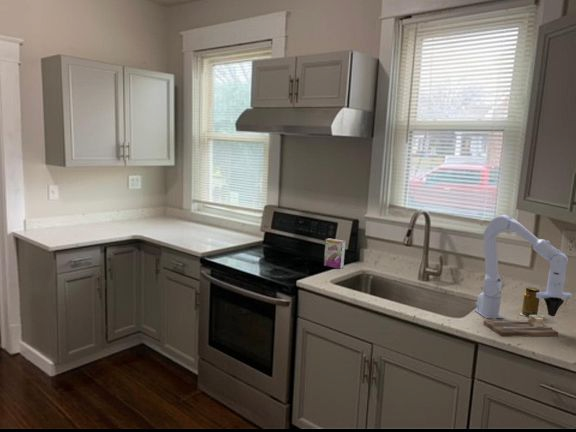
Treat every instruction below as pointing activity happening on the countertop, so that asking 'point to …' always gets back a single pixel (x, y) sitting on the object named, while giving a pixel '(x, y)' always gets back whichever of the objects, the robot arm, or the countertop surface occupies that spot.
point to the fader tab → (535, 321)
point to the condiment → (530, 302)
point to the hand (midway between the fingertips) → (551, 315)
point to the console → (519, 328)
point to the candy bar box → (334, 253)
